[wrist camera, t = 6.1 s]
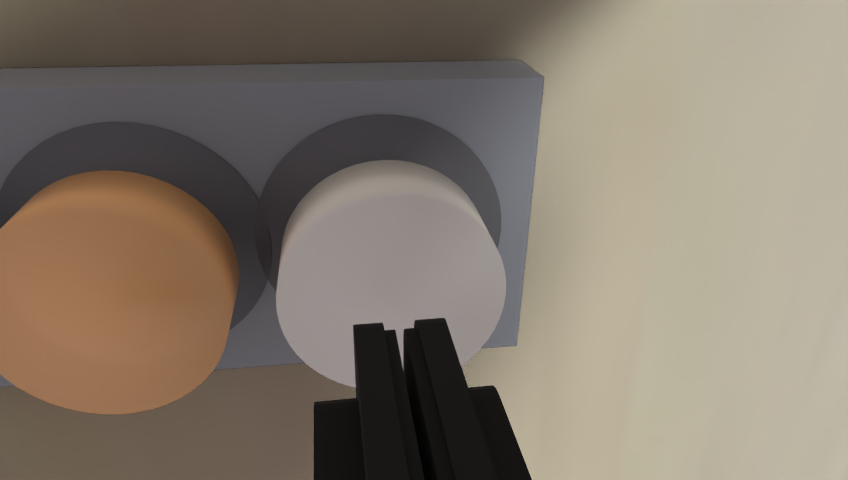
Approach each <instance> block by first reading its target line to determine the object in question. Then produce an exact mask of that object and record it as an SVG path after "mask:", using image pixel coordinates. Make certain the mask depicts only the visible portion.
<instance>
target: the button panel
mask: <svg viewBox="0 0 848 480" xmlns="http://www.w3.org/2000/svg"><path fill="white" fill-rule="evenodd" d="M543 85H544V77H543V76H542V75H540V74H539V73H538V72H536V71H535V70H534V69H532V68H531V67H530V66H528V65H527V64H526V63H524V62H523V61H521V60H496V61H434V62H372V63H311V64H249V65H187V66H125V67H63V68H1V69H0V229H1V228H2V227H3V226H4V225H5V224H6V223H7V222H8V221H9V220H10V219H11V218H12V217H13V216H14V215H15V214H16V213H17V212H18V211H19V210H20V209H21V208H22V207H23V206H24V205H25V204H26V203H27V202H28V201H29V200H30V199H31V198H32V197H33V196H34V195H35V194H37V193H38V192H39V191H41V190H42V189H43V188H45V187H47V186H48V185H50V184H52V183H54V182H56V181H58V180H61V179H63V178H66V177H69V176H72V175H76V174H80V173H85V172H92V171H102V170H108V171H125V172H133V173H138V174H142V175H146V176H151V177H154V178H156V179H159V180H162V181H165V182H167V183H169V184H171V185H173V186H175V187H177V188H179V189H181V190H183V191H185V192H186V193H188V194H189V195H191V196H192V197H194V198H195V199H196V200H198V201H199V202H200V203H201V204H203V205H204V206H205V207H206V208H207V209H208V210H209V211H210V212H211V213H212V214H213V215H214V216H215V217H216V218H217V220H218V221H219V222H220V224H221V225H222V226H223V228H224V229H225V231H226V233H227V234H228V236H229V238H230V240H231V242H232V244H233V247H234V250H235V252H236V256H237V261H238V267H239V284H238V291H237V296H236V300H235V305H234V309H233V314H232V319H231V323H230V328H229V333H228V337H227V341H226V345H225V349H224V351H223V354H222V356H221V358H220V360H219V362H218V364H217V365H216V367H215V368H214V370H221V369H234V368H246V367H258V366H271V365H283V364H296V363H305V362H304V361H303V360H302V359H301V358H300V357H299V356H298V355H297V354H296V353H295V352H294V350H293V349H292V348H291V346H290V345H289V343H288V342H287V340H286V338H285V336H284V334H283V332H282V329H281V326H280V324H279V320H278V315H277V310H276V291H277V282H278V273H279V264H280V255H281V247H282V239H283V235H284V232H285V228H286V225H287V223H288V221H289V218H290V216H291V214H292V213H293V211H294V209H295V208H296V206H297V205H298V203H299V202H300V201H301V200H302V199H303V197H304V196H305V195H306V194H307V193H308V192H309V191H310V190H311V189H312V188H313V187H315V186H316V185H317V184H318V183H319V182H321V181H322V180H324V179H325V178H327V177H328V176H330V175H332V174H334V173H336V172H338V171H340V170H342V169H344V168H347V167H350V166H353V165H356V164H360V163H364V162H369V161H378V160H400V161H407V162H413V163H416V164H420V165H423V166H426V167H429V168H431V169H433V170H436V171H438V172H440V173H441V174H443V175H445V176H446V177H448V178H450V179H451V180H452V181H453V182H454V183H456V184H457V185H458V186H459V187H460V188H461V189H462V190H463V191H464V192H465V193H466V194H467V195H468V197H469V198H470V200H471V201H472V203H473V204H474V205H475V207H476V209H477V211H478V213H479V215H480V217H481V219H482V221H483V223H484V224H485V226H486V228H487V230H488V232H489V234H490V236H491V238H492V240H493V242H494V243H495V245H496V247H497V250H498V252H499V254H500V256H501V259H502V262H503V265H504V269H505V276H506V296H505V302H504V307H503V310H502V313H501V317H500V319H499V321H498V323H497V325H496V328H495V330H494V331H493V333H492V334H491V336H490V337H489V339H488V340H487V342H486V343H485V344H484V345H483V346H482V348H495V347H507V346H517V337H518V328H519V318H520V308H521V299H522V289H523V279H524V270H525V260H526V250H527V240H528V231H529V221H530V211H531V202H532V192H533V182H534V173H535V163H536V153H537V144H538V134H539V124H540V115H541V105H542V95H543ZM482 348H481V349H482ZM10 386H15V385H13V384H12V383H11V382H9V381H8V380H6V379H5V378H4V377H3V376H2V375H0V387H10Z"/></svg>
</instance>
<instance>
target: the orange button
mask: <svg viewBox="0 0 848 480" xmlns="http://www.w3.org/2000/svg"><path fill="white" fill-rule="evenodd" d="M238 284H239V267H238V261H237V256H236V252H235V250H234V247H233V244H232V242H231V240H230V238H229V236H228V234H227V233H226V231H225V229H224V228H223V226H222V225H221V224H220V222H219V221H218V220H217V218H216V217H215V216H214V215H213V214H212V213H211V212H210V211H209V210H208V209H207V208H206V207H205V206H204V205H203V204H201V203H200V202H199V201H198V200H196V199H195V198H194V197H192V196H191V195H189V194H188V193H186V192H185V191H183V190H181V189H179V188H177V187H175V186H173V185H171V184H169V183H167V182H165V181H162V180H159V179H156V178H154V177H151V176H146V175H142V174H138V173H133V172H125V171H108V170H102V171H92V172H85V173H80V174H76V175H72V176H69V177H66V178H63V179H61V180H58V181H56V182H54V183H52V184H50V185H48V186H47V187H45V188H43V189H42V190H41V191H39V192H38V193H37V194H35V195H34V196H33V197H32V198H31V199H30V200H29V201H28V202H27V203H26V204H25V205H24V206H23V207H22V208H21V209H20V210H19V211H18V212H17V213H16V214H15V215H14V216H13V217H12V218H11V219H10V220H9V221H8V222H7V223H6V224H5V225H4V226H3V227H2V228H1V229H0V375H2V376H3V377H4V378H5V379H6V380H8V381H9V382H11V383H12V384H13V385H15V386H16V387H18V388H19V389H21V390H23V391H25V392H26V393H28V394H30V395H32V396H34V397H36V398H38V399H41V400H43V401H45V402H48V403H51V404H53V405H56V406H59V407H62V408H67V409H71V410H75V411H80V412H87V413H94V414H129V413H136V412H143V411H147V410H151V409H155V408H158V407H161V406H164V405H167V404H169V403H172V402H174V401H176V400H178V399H180V398H182V397H183V396H185V395H187V394H188V393H190V392H191V391H193V390H194V389H195V388H197V387H198V386H199V385H200V384H201V383H202V382H204V381H205V379H206V378H207V377H208V376H209V375H210V374H211V373H212V371H213V370H214V368H215V367H216V365H217V364H218V362H219V360H220V358H221V356H222V354H223V351H224V349H225V345H226V341H227V337H228V333H229V328H230V323H231V319H232V314H233V309H234V305H235V300H236V296H237V291H238Z"/></svg>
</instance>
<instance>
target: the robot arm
mask: <svg viewBox="0 0 848 480" xmlns="http://www.w3.org/2000/svg"><path fill="white" fill-rule="evenodd" d="M353 339H354V360H355V382H356V398H353V399H342V400H332V401H321V402H314V480H532V479H531V477H530V474H529V471H528V469H527V466H526V464H525V461H524V458H523V456H522V453H521V451H520V448H519V446H518V443H517V440H516V438H515V435H514V433H513V430H512V427H511V425H510V422H509V420H508V417H507V414H506V412H505V409H504V407H503V404H502V401H501V399H500V396H499V394H498V392H497V390H496V388H495V387H494V386H482V387H471V388H468V386H467V383H466V380H465V377H464V374H463V371H462V368H461V365H460V362H459V359H458V356H457V352H456V349H455V346H454V343H453V340H452V337H451V334H450V331H449V328H448V325H447V322H446V319H445V318H434V319H421V320H415V321H414V328H407V329H404V334H403V366H402V361H401V356H400V351H399V346H398V341H397V336H396V331H395V329H394V330H384V325H383V322H381V323H368V324H355V325H353Z"/></svg>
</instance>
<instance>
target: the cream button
mask: <svg viewBox="0 0 848 480" xmlns="http://www.w3.org/2000/svg"><path fill="white" fill-rule="evenodd" d="M505 296H506V276H505V269H504V265H503V262H502V259H501V256H500V254H499V252H498V250H497V247H496V245H495V243H494V242H493V240H492V238H491V236H490V234H489V232H488V230H487V228H486V226H485V224H484V223H483V221H482V219H481V217H480V215H479V213H478V211H477V209H476V207H475V205H474V204H473V203H472V201H471V200H470V198H469V197H468V195H467V194H466V193H465V192H464V191H463V190H462V189H461V188H460V187H459V186H458V185H457V184H456V183H454V182H453V181H452V180H451V179H450V178H448V177H446V176H445V175H443V174H441V173H440V172H438V171H436V170H433V169H431V168H429V167H426V166H423V165H420V164H416V163H413V162H407V161H400V160H378V161H369V162H364V163H360V164H356V165H353V166H350V167H347V168H344V169H342V170H340V171H338V172H336V173H334V174H332V175H330V176H328V177H327V178H325V179H324V180H322V181H321V182H319V183H318V184H317V185H316V186H315V187H313V188H312V189H311V190H310V191H309V192H308V193H307V194H306V195H305V196H304V197H303V199H302V200H301V201H300V202H299V203H298V205H297V206H296V208H295V209H294V211H293V213H292V214H291V216H290V218H289V221H288V223H287V225H286V228H285V232H284V235H283V239H282V247H281V255H280V264H279V273H278V282H277V291H276V310H277V315H278V320H279V324H280V326H281V329H282V332H283V334H284V336H285V338H286V340H287V342H288V343H289V345H290V346H291V348H292V349H293V350H294V352H295V353H296V354H297V355H298V356H299V357H300V358H301V359H302V360H303V361H304V362H305V363H306V364H307V365H308V366H309V367H311V368H312V369H313V370H315V371H316V372H318V373H319V374H321V375H323V376H325V377H326V378H328V379H331V380H333V381H335V382H338V383H340V384H343V385H347V386H350V387H354V388H356V382H355V360H354V339H353V325H355V324H368V323H381V322H383V325H384V330H394V329H395V331H396V336H397V341H398V346H399V351H400V356H401V361H402V366H403V334H404V329H407V328H414V321H415V320H421V319H434V318H445V319H446V322H447V325H448V328H449V331H450V334H451V337H452V340H453V343H454V346H455V349H456V352H457V356H458V359H459V362H460V365H461V366H462V365H463V364H464V363H466V362H467V361H468V360H470V359H471V358H472V357H473V356H474V355H475V354H476V353H477V352H478V351H479V350H480V349H481V348H482V346H483V345H484V344H485V343H486V342H487V340H488V339H489V337H490V336H491V334H492V333H493V331H494V330H495V328H496V325H497V323H498V321H499V319H500V317H501V313H502V310H503V307H504V302H505Z"/></svg>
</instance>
